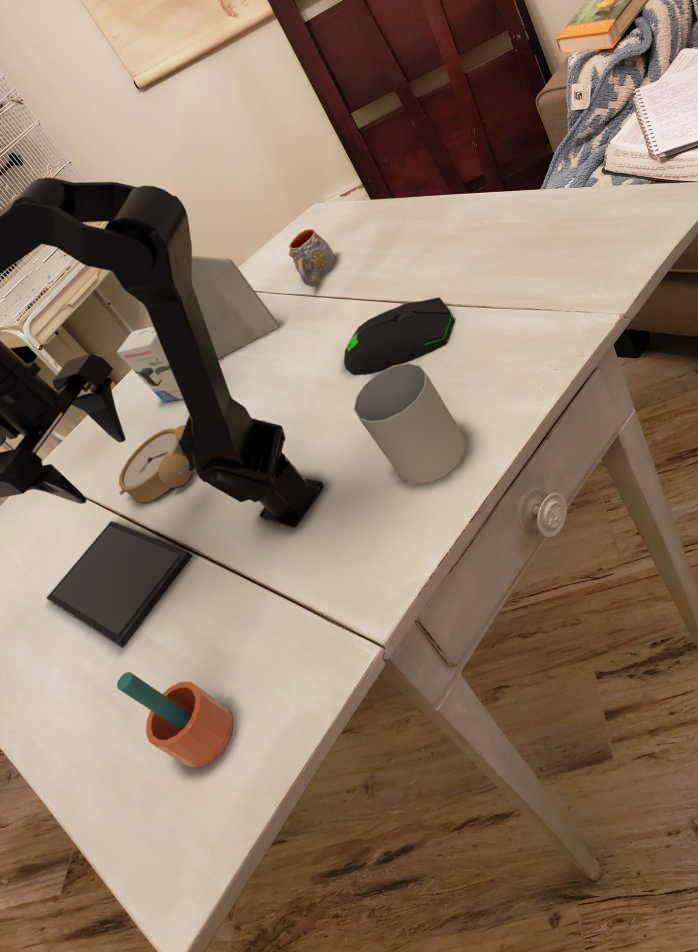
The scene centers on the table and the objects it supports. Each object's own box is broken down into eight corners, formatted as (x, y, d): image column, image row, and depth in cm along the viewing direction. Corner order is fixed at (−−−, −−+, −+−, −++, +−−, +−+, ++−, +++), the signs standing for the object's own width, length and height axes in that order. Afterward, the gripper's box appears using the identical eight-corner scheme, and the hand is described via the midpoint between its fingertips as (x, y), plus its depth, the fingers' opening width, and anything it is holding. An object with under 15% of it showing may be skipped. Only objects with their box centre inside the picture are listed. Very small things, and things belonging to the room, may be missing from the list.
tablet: (193, 555, 88) (187, 550, 88) (122, 647, 83) (116, 643, 82) (115, 524, 102) (110, 520, 101) (51, 601, 97) (45, 597, 96)
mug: (307, 265, 130) (287, 235, 126) (340, 251, 128) (320, 220, 124) (295, 304, 122) (274, 272, 118) (330, 289, 119) (309, 257, 115)
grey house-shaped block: (280, 303, 125) (212, 208, 113) (279, 327, 119) (208, 229, 107) (203, 345, 129) (130, 257, 117) (198, 369, 123) (121, 280, 111)
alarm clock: (135, 441, 110) (199, 405, 102) (160, 460, 112) (224, 427, 104) (105, 498, 102) (171, 464, 94) (133, 517, 105) (199, 486, 97)
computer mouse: (349, 338, 106) (335, 317, 103) (452, 294, 100) (440, 271, 98) (344, 387, 98) (329, 365, 95) (456, 342, 92) (443, 318, 90)
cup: (444, 488, 75) (402, 424, 69) (384, 480, 81) (340, 420, 75) (477, 428, 79) (439, 362, 73) (418, 424, 84) (378, 363, 78)
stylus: (213, 728, 68) (134, 675, 61) (202, 744, 67) (122, 692, 61) (203, 722, 69) (125, 669, 62) (193, 737, 68) (113, 685, 62)
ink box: (162, 403, 121) (114, 352, 114) (176, 382, 124) (130, 331, 117) (196, 398, 116) (148, 344, 109) (211, 376, 119) (164, 323, 112)
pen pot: (244, 718, 68) (211, 694, 65) (204, 778, 65) (169, 757, 62) (208, 695, 72) (176, 672, 69) (169, 751, 69) (135, 730, 66)
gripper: (4, 333, 84) (99, 422, 94) (-102, 454, 73) (18, 542, 82) (63, 311, 78) (157, 408, 88) (-42, 439, 67) (79, 535, 76)
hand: (103, 470), depth 84 cm, fingers open, 9 cm apart
